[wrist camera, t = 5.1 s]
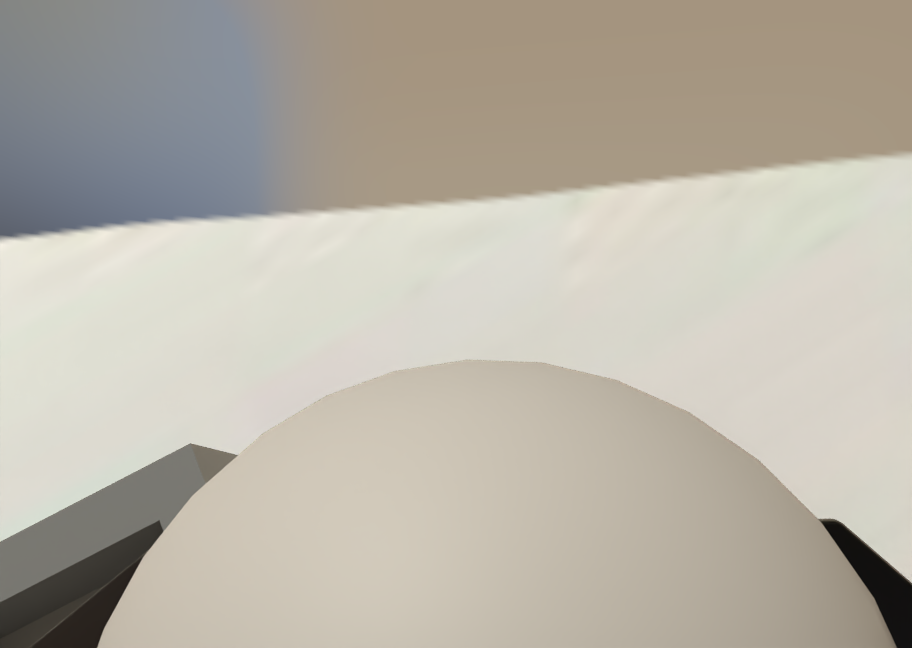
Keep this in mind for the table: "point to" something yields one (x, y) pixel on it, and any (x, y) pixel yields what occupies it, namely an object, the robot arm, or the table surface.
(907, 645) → the robot arm
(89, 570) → the socket
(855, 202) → the table surface
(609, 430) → the lightbulb
